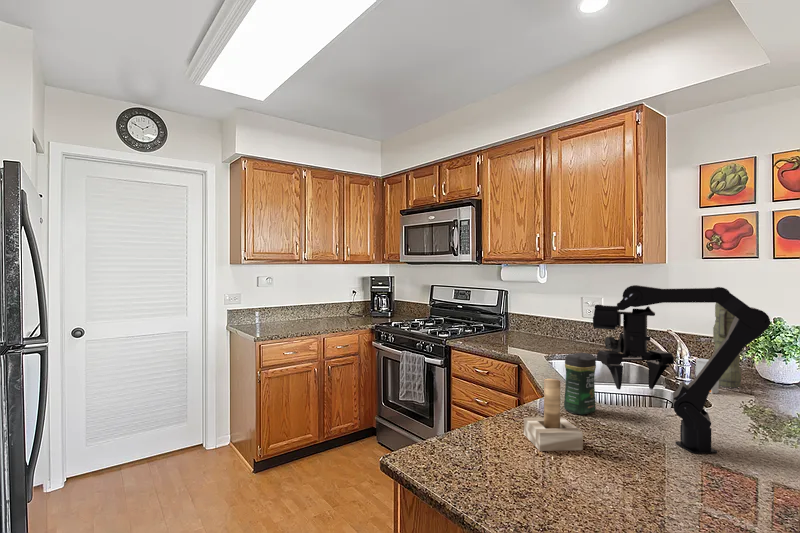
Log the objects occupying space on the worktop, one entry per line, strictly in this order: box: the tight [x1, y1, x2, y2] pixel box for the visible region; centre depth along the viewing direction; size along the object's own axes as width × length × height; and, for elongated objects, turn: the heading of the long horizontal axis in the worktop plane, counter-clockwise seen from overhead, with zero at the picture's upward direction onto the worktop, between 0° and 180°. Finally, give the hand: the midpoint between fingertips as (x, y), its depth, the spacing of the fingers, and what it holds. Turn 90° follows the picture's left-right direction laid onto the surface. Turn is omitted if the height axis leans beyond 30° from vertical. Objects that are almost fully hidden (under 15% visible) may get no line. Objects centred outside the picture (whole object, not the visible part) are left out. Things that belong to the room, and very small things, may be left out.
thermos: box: [712, 303, 742, 389], centre depth 171 cm, size 9×12×35 cm
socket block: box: [523, 416, 584, 452], centre depth 112 cm, size 11×11×4 cm
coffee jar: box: [563, 352, 597, 415], centre depth 137 cm, size 10×8×19 cm
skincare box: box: [695, 358, 720, 395], centre depth 161 cm, size 6×4×12 cm
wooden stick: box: [543, 378, 561, 429], centre depth 112 cm, size 4×4×16 cm
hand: (634, 389), depth 116 cm, fingers open, 9 cm apart
